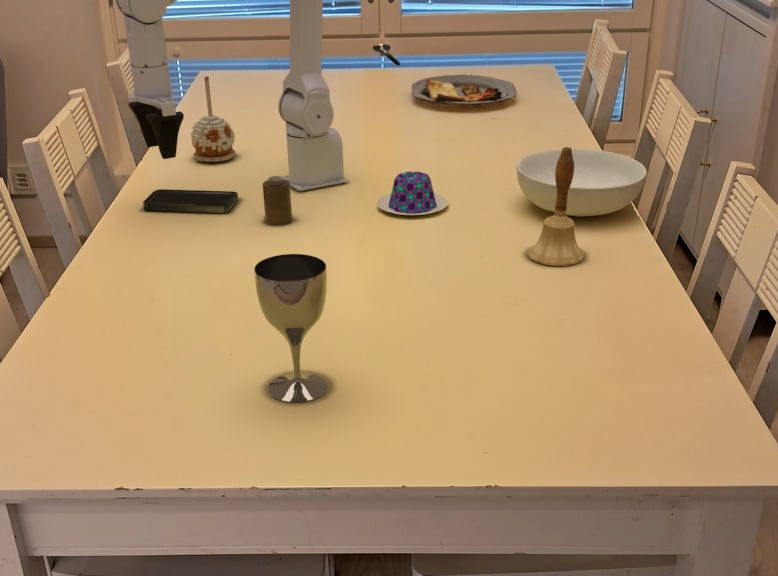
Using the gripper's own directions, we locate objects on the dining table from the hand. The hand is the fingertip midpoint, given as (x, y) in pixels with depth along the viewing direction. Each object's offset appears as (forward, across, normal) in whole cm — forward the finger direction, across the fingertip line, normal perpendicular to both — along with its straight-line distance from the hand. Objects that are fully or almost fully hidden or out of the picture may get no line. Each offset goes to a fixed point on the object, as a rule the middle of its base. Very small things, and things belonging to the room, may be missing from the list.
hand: (161, 151), depth 167 cm
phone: (+10, -1, +4) cm, 11 cm away
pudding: (+10, +20, +36) cm, 42 cm away
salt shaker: (+10, +14, +14) cm, 22 cm away
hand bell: (+10, +50, +43) cm, 67 cm away
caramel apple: (+10, -24, +18) cm, 32 cm away
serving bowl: (+10, +35, +59) cm, 69 cm away
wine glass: (+10, +67, -8) cm, 68 cm away
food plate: (+10, -37, +83) cm, 91 cm away
